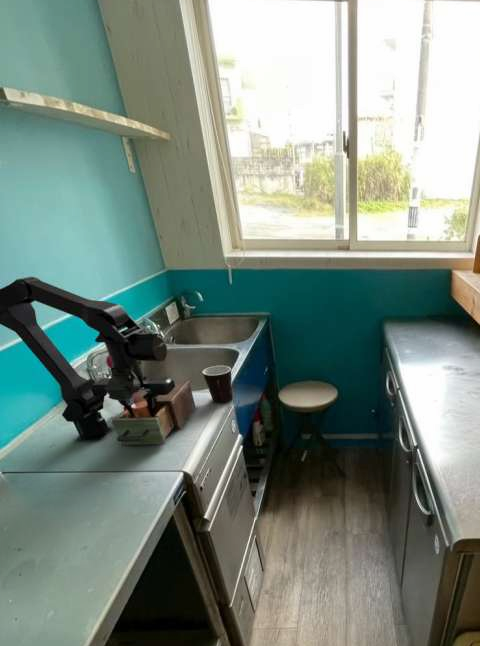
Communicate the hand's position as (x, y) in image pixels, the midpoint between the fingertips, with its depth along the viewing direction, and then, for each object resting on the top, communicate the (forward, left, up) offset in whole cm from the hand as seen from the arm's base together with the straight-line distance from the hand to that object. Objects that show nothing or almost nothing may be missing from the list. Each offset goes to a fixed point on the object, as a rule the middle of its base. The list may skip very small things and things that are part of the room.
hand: (144, 416), depth 105 cm
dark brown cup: (+13, +23, -7) cm, 28 cm away
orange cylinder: (0, 0, -2) cm, 2 cm away
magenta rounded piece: (-12, +17, -7) cm, 22 cm away
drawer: (0, -1, -6) cm, 6 cm away
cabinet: (0, +11, -7) cm, 13 cm away
